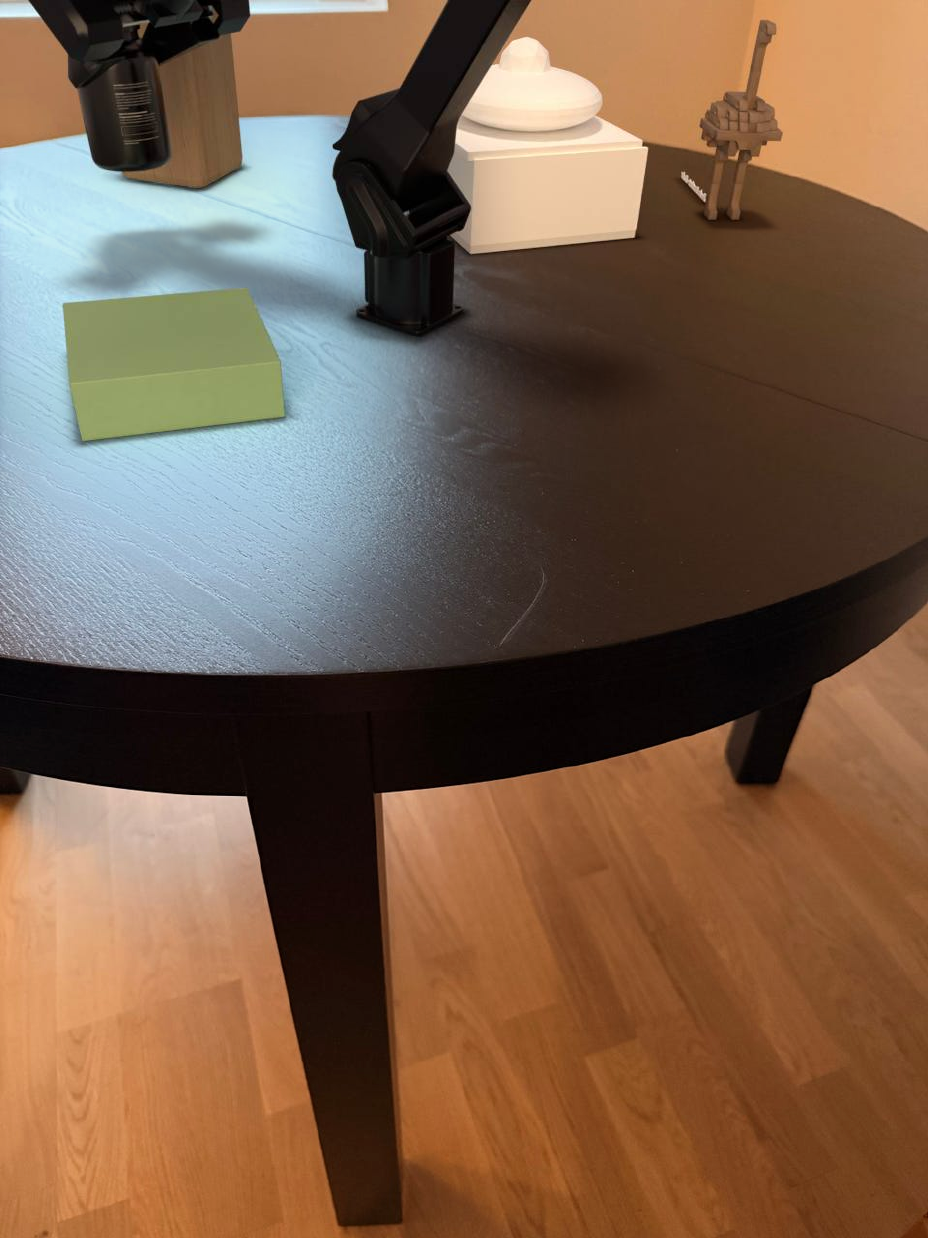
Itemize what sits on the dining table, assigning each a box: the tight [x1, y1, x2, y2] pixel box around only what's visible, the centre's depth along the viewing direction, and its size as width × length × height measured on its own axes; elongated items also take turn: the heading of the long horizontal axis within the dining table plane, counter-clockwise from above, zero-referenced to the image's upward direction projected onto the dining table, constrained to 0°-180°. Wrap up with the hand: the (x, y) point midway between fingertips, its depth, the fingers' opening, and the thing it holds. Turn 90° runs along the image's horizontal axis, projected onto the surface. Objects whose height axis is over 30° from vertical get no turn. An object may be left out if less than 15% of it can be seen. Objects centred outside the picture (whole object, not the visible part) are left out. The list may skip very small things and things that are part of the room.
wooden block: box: [121, 8, 244, 189], centre depth 102 cm, size 10×10×20 cm
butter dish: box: [447, 36, 649, 255], centre depth 96 cm, size 18×18×16 cm
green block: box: [62, 287, 286, 442], centre depth 69 cm, size 13×13×4 cm
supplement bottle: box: [76, 24, 172, 173], centre depth 83 cm, size 7×7×12 cm
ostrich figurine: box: [680, 19, 784, 221], centre depth 102 cm, size 17×7×18 cm, turn 7°
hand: (106, 76), depth 84 cm, fingers closed on supplement bottle, 7 cm apart
